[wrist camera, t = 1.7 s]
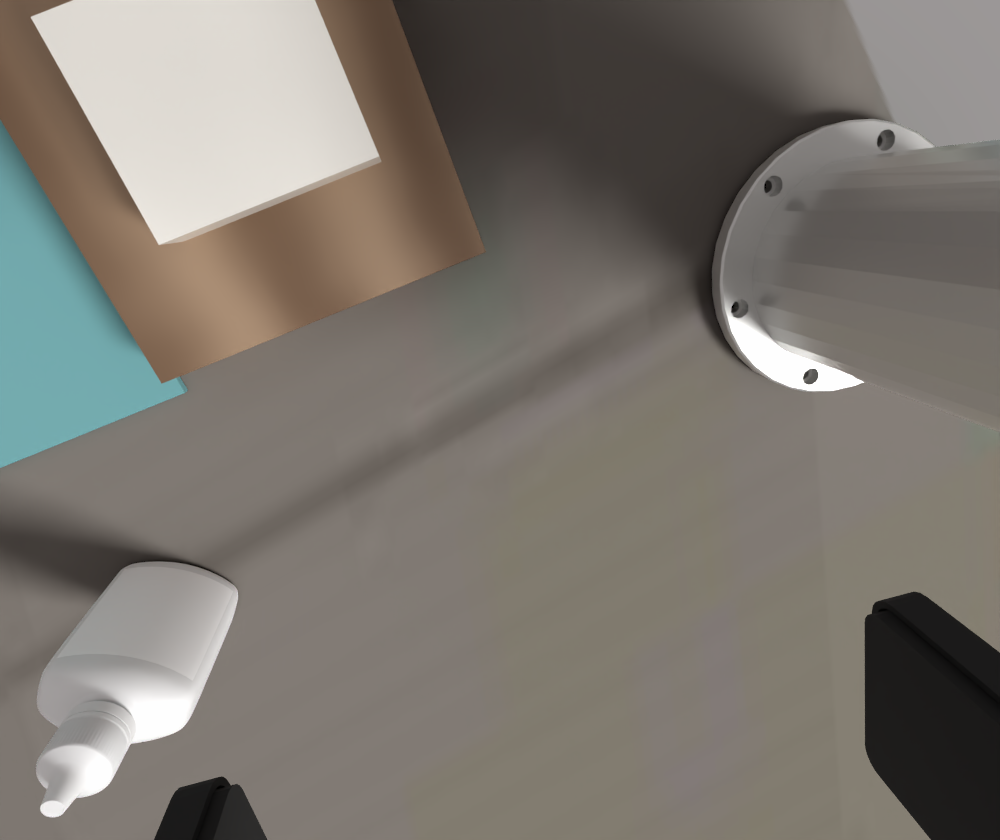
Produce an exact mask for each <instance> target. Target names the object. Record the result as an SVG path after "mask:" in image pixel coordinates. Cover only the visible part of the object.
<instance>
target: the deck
mask: <svg viewBox="0 0 1000 840" xmlns="http://www.w3.org/2000/svg"><path fill="white" fill-rule="evenodd" d="M70 1H72V0H0V120H1V122H2V123H3V125H4V126H5V128H6V130H7V131H8V133H9V135H10V136H11V138H12V140H13V141H14V143H15V144H16V146H17V148H18V149H19V151H20V153H21V154H22V156H23V158H24V159H25V161H26V162H27V164H28V166H29V167H30V169H31V171H32V172H33V174H34V176H35V177H36V179H37V180H38V182H39V184H40V185H41V187H42V189H43V190H44V192H45V194H46V195H47V197H48V198H49V200H50V202H51V203H52V205H53V207H54V208H55V210H56V212H57V213H58V215H59V216H60V218H61V220H62V221H63V223H64V225H65V226H66V228H67V230H68V231H69V233H70V234H71V236H72V238H73V239H74V241H75V243H76V244H77V246H78V248H79V249H80V251H81V252H82V254H83V256H84V257H85V259H86V261H87V262H88V264H89V266H90V267H91V269H92V270H93V272H94V274H95V275H96V277H97V279H98V280H99V282H100V284H101V285H102V287H103V289H104V290H105V292H106V293H107V295H108V297H109V298H110V300H111V302H112V303H113V305H114V307H115V308H116V310H117V311H118V313H119V315H120V316H121V318H122V320H123V321H124V323H125V325H126V326H127V328H128V329H129V331H130V333H131V334H132V336H133V338H134V339H135V341H136V343H137V344H138V346H139V347H140V349H141V351H142V352H143V354H144V356H145V357H146V359H147V361H148V362H149V364H150V365H151V367H152V369H153V370H154V372H155V374H156V375H157V377H158V379H159V380H160V382H161V383H165V382H167V381H170V380H172V379H175V378H177V377H180V376H182V375H185V374H187V373H190V372H192V371H194V370H197V369H199V368H202V367H204V366H207V365H209V364H212V363H214V362H217V361H219V360H221V359H224V358H226V357H229V356H231V355H234V354H236V353H239V352H241V351H244V350H246V349H249V348H251V347H253V346H256V345H258V344H261V343H263V342H266V341H268V340H271V339H273V338H276V337H278V336H281V335H283V334H285V333H288V332H290V331H293V330H295V329H298V328H300V327H303V326H305V325H308V324H310V323H312V322H315V321H317V320H320V319H322V318H325V317H327V316H330V315H332V314H335V313H337V312H340V311H342V310H344V309H347V308H349V307H352V306H354V305H357V304H359V303H362V302H364V301H367V300H369V299H372V298H374V297H376V296H379V295H381V294H384V293H386V292H389V291H391V290H394V289H396V288H399V287H401V286H403V285H406V284H408V283H411V282H413V281H416V280H418V279H421V278H423V277H426V276H428V275H431V274H433V273H435V272H438V271H440V270H443V269H445V268H448V267H450V266H453V265H455V264H458V263H460V262H463V261H465V260H467V259H470V258H472V257H475V256H477V255H480V254H482V253H485V252H486V251H485V248H484V245H483V243H482V240H481V237H480V235H479V232H478V229H477V227H476V224H475V221H474V218H473V216H472V213H471V210H470V208H469V205H468V202H467V200H466V197H465V194H464V192H463V189H462V186H461V184H460V181H459V178H458V176H457V173H456V170H455V168H454V165H453V162H452V159H451V157H450V154H449V151H448V149H447V146H446V143H445V141H444V138H443V135H442V133H441V130H440V127H439V125H438V122H437V119H436V117H435V114H434V111H433V109H432V106H431V103H430V100H429V98H428V95H427V92H426V90H425V87H424V84H423V82H422V79H421V76H420V74H419V71H418V68H417V66H416V63H415V60H414V58H413V55H412V52H411V49H410V47H409V44H408V41H407V39H406V36H405V33H404V31H403V28H402V25H401V23H400V20H399V17H398V15H397V12H396V9H395V7H394V4H393V1H392V0H315V1H316V4H317V6H318V8H319V11H320V13H321V16H322V18H323V21H324V23H325V25H326V28H327V30H328V33H329V35H330V38H331V40H332V42H333V45H334V47H335V50H336V52H337V55H338V57H339V59H340V62H341V64H342V67H343V69H344V72H345V74H346V76H347V79H348V81H349V84H350V86H351V89H352V91H353V93H354V96H355V98H356V101H357V103H358V106H359V108H360V110H361V113H362V115H363V118H364V120H365V122H366V125H367V127H368V130H369V132H370V135H371V137H372V139H373V142H374V144H375V147H376V149H377V152H378V154H379V156H380V159H381V161H382V162H380V163H378V164H375V165H373V166H370V167H368V168H365V169H363V170H360V171H358V172H355V173H353V174H350V175H348V176H345V177H343V178H340V179H338V180H335V181H333V182H330V183H328V184H325V185H323V186H320V187H318V188H315V189H313V190H311V191H308V192H306V193H303V194H301V195H298V196H296V197H293V198H291V199H288V200H286V201H283V202H281V203H278V204H276V205H273V206H271V207H268V208H266V209H263V210H261V211H258V212H256V213H253V214H251V215H248V216H246V217H244V218H241V219H239V220H236V221H234V222H231V223H229V224H226V225H224V226H221V227H219V228H216V229H214V230H211V231H209V232H206V233H204V234H201V235H199V236H196V237H194V238H191V239H189V240H186V241H184V242H177V243H170V244H163V245H159V244H158V243H157V241H156V239H155V237H154V235H153V234H152V232H151V230H150V228H149V227H148V225H147V223H146V221H145V219H144V218H143V216H142V214H141V212H140V211H139V209H138V207H137V205H136V203H135V202H134V200H133V198H132V196H131V195H130V193H129V191H128V189H127V188H126V186H125V184H124V182H123V180H122V179H121V177H120V175H119V173H118V172H117V170H116V168H115V166H114V164H113V163H112V161H111V159H110V157H109V156H108V154H107V152H106V150H105V148H104V147H103V145H102V143H101V141H100V140H99V138H98V136H97V134H96V132H95V131H94V129H93V127H92V125H91V124H90V122H89V120H88V118H87V116H86V115H85V113H84V111H83V109H82V108H81V106H80V104H79V102H78V100H77V99H76V97H75V95H74V93H73V92H72V90H71V88H70V86H69V84H68V83H67V81H66V79H65V77H64V76H63V74H62V72H61V70H60V68H59V67H58V65H57V63H56V61H55V60H54V58H53V56H52V54H51V52H50V51H49V49H48V47H47V45H46V44H45V42H44V40H43V38H42V37H41V35H40V33H39V31H38V29H37V28H36V26H35V24H34V22H33V21H32V19H31V17H32V16H34V15H37V14H39V13H42V12H44V11H47V10H49V9H52V8H54V7H57V6H60V5H62V4H65V3H67V2H70Z"/></svg>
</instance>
